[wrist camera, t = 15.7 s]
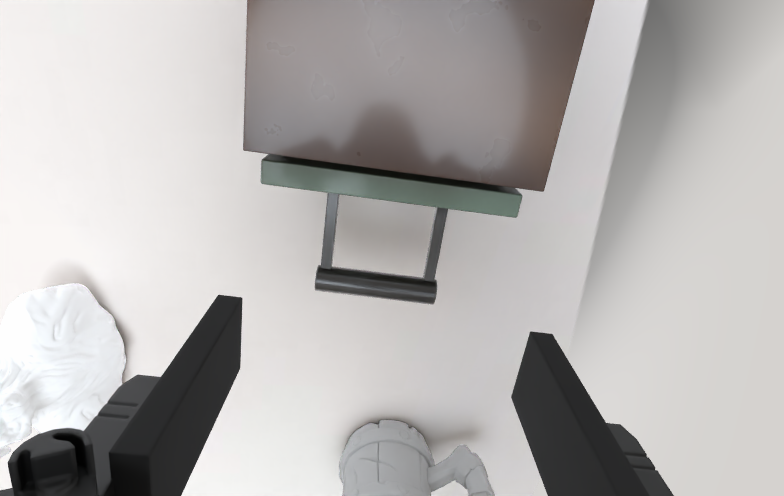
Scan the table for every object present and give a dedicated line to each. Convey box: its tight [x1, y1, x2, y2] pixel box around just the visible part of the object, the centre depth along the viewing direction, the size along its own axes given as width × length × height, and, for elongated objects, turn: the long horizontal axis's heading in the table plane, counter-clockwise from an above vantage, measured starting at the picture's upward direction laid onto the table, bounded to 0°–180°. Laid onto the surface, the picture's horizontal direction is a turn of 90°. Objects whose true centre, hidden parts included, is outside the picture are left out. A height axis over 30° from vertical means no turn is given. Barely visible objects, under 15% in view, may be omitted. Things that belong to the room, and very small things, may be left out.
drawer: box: [261, 154, 522, 304], centre depth 25 cm, size 21×13×8 cm, turn 172°
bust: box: [0, 283, 126, 458], centre depth 32 cm, size 12×8×11 cm
